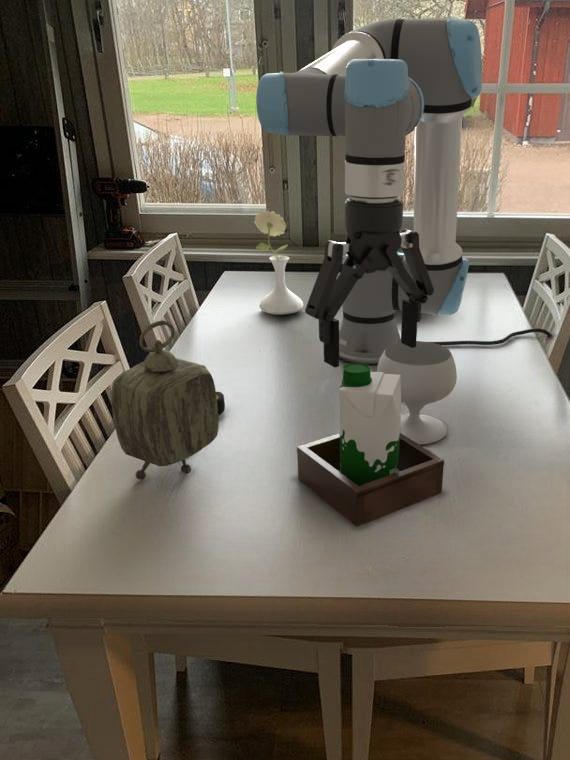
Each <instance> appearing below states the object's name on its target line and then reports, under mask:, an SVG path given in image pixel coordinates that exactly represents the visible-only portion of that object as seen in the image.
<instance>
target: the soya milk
mask: <svg viewBox="0 0 570 760" xmlns="http://www.w3.org/2000/svg"><path fill="white" fill-rule="evenodd" d="M338 400H339V433H340V469H339V470H340V473H342V474H343V475H344V476H346V477H347V478H348V479H350V480H351V481H352V482H354V483H355V484H356V485H358V486H361V485H364V484H367V483H370V482H372V481H375V480H378V479H380V478H383V477H386V476H389V475H391V474H394V473H396V471H397V469H396V468H397V464H398V460H399V446H400V424H401V414H402V403H401V378H400V375H394V374H384V373H383V372H377V371H371V366H370V364H364V363H352V362H349V363H347V364H344V365H343V368H342V379H341V385H340V387H339V389H338Z"/></svg>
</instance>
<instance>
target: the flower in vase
mask: <svg viewBox="0 0 570 760" xmlns="http://www.w3.org/2000/svg"><path fill="white" fill-rule="evenodd" d="M253 223H254V224H255V225H256V228H257V229H258V230H259V232H260V233H263V235H267V242H268V243H265V242H259V243H258V244H257V245H256V247H255V249H257V250H261V251H264V252H268V251H270V250H271V251H272V253H273V254H274V255H272V256H270V257H268V259H269V261H270V262H271V263H272V266H273V269H274V274H275V286H274V288H273V289H272V290H271V291H269V292H268V294H267V295H265V296H264V297H263V298H262V299H261V300H260V302H259V309H260V310H261V311H263V313H264V312H265V313H268V314H270V315H276V316H277V315H278V316H279V315H282V316H283V315H290V314H291V315H292V314H295V313H297V312H299V311H301V310H302V309H303V308H304V302H303V300H302V299H301V298H300V297H299V296H297V295H296V294H295V293H293V292H292V291H291V290H290V289H289V288H288V287H287V285H286V279H285V273H286V267H287V263H288V261H289V260H290V257H289V256H287V255H277V253H281V252H283V251H284V250H285V249H287V247H288V245H289V243H287V244H286V245H285V244H284V245H282V246H280V247H278V248H277V249H276V250H274V248H273V247H272V246H271V242H270V237H277V236H281V235H283V234H285V233H286V232H285V231H286V228H287V223H286V222H285V221H284V217H282V216H281V214H279V213H276V212H275V211H274V210H271V211H270V210H269V209H266V210H261V212H257V213H256V214H255V217H254V220H253Z"/></svg>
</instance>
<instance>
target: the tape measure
mask: <svg viewBox="0 0 570 760" xmlns="http://www.w3.org/2000/svg"><path fill="white" fill-rule="evenodd" d="M216 397H217V405H218V417H219V416H220V415H222V414H223V413H224V412H225V410H226V408H225V407H226V402H225V395H224V393H222V392H221V391H216Z"/></svg>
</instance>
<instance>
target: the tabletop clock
mask: <svg viewBox="0 0 570 760" xmlns="http://www.w3.org/2000/svg"><path fill="white" fill-rule="evenodd" d="M160 326H166V327H168V328H169V329H170V331H171V332H170V336H169V337H168V338H167V339H166V340H165V341H164V342H162V340H159V339H156V340H155V341H154V346H153V347H145V346H144V339H145V337H146V335H147V334H148V333H149V332H150V331H152V330H153V329H155V328H158V327H160ZM174 337H175V328H174V326H173V324H172V323H171V322H169V321H167V320H158V321H157V320H156V321H154V322H152V323H151V324H149V325H147V326H146V327H145V328H144V329H143V330H142V332H141V334H140V336H139V347H140V348H141V350H142V351H144V352H146V353H148V354H147V355H146V356H145V358H144V361H141V362H140V363H138V364H136V365H134V366H132V367H131V368H129V369H127V370H125V371H123V372H122V373H121V374H119V375H118V376H117V377H116V378H115V379H114V380H113V381H112V385H111V392H110V393H111V395H110V399H111V400H110V401H111V402H110V403H111V410H112V411H111V412H112V418H113V419H112V420H113V424H114V429H115V432H116V437H117V440H118V443H119V446H120V448H121V450H122V451H123V453H124V454H125V455H127V456H129V457H132V458H135V459H138V460H141V461H143V462H144V463H143V465H142V468H141V469H138V470H136V472H135V474H134V475H135V477H136V479H137V480H140V481H142V480H144V479H146V476H147V474H146V470H147V469H148V468H149V466H150V464H151V465H155V466H157V467H168V466H171V465H174V464H179V463H180V462H181V463H182V465H181V467H180V470H181V472H182V474H186V475H187V474H189V473H191V472H192V466H191V465H190V464H189V463H187V462H186V459H188V458H190V457H192V456H194V455H195V454H198V453H199V452H200V451H202V450H203V449H204V448H206V447H207V446H208V445H211V443H213V442H214V441H215V439H216V438H217V437H218V434H219V433H218V432H219V416H218V405H217V397H216V392H217V391H216V385H215V382H214V381H215V380H214V378H213V376H212V373H211V372H210V371H209V370H208V368H207V367H206V366H205V365H204V364H201V363H196V362H192V361H189V360H185V359H182V358H177V357H176V356H175V355H174V353H172V352H171V351H170V350H166V349H164V348H166V347H168V346H169V344H171V343H172V341H173V339H174Z"/></svg>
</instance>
